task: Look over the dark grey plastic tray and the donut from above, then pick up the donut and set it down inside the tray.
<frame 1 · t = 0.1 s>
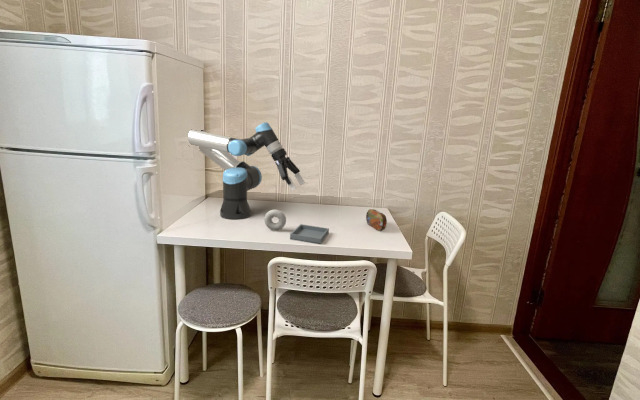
hand: (298, 186, 175), 15 cm above the table, tool tilted 35°, fingers open, 13 cm apart
donut: (274, 230, 156), on the table
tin: (375, 227, 167), on the table
tray: (309, 236, 151), on the table
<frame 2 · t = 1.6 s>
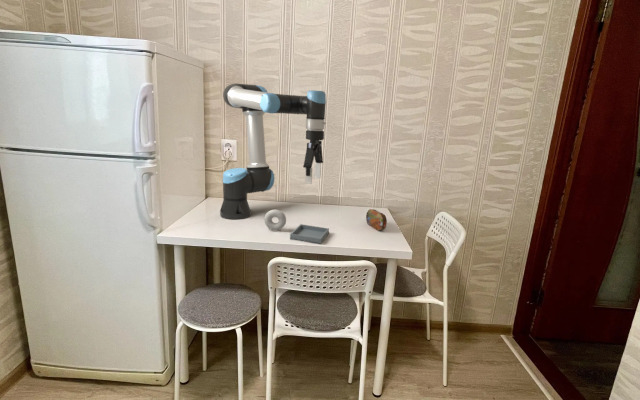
hand: (313, 180, 145), 25 cm above the table, tool pointing down, fingers open, 13 cm apart
nothing on the table moved.
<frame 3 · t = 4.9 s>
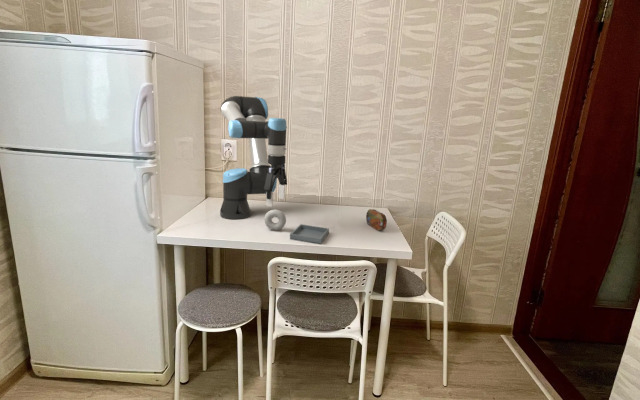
hand: (275, 202, 152), 13 cm above the table, tool pointing down, fingers open, 13 cm apart
nothing on the table moved.
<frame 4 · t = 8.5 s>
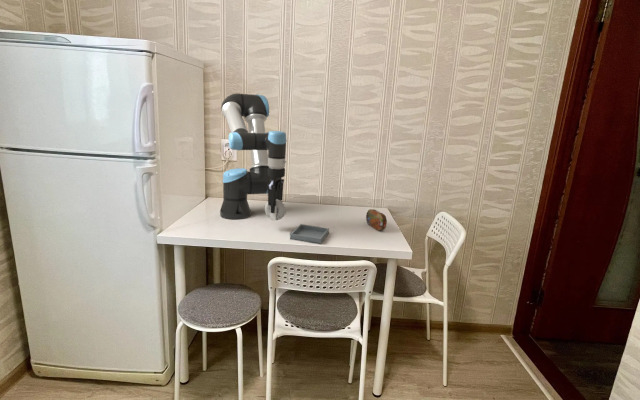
hand: (274, 217, 155), 6 cm above the table, tool pointing down, fingers closed on donut, 3 cm apart
donut: (274, 220, 155), point 5 cm above the table, touching gripper
everything else where it was.
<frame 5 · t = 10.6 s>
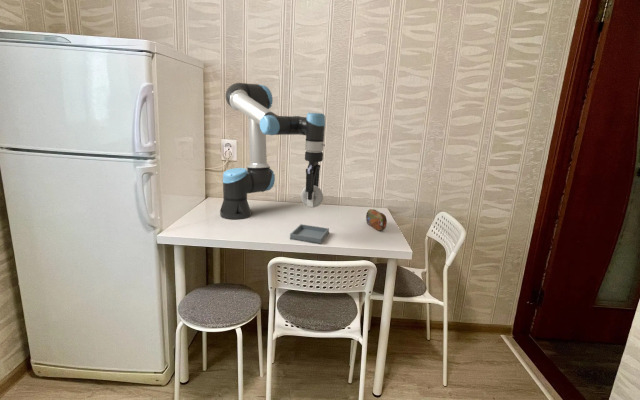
hand: (311, 205, 147), 14 cm above the table, tool pointing down, fingers closed on donut, 3 cm apart
donut: (311, 207, 147), point 13 cm above the table, touching gripper
everything else where it was.
when the fingers open (4 cm above the table, at t = 13.1 s): donut drops 2 cm, resting on tray.
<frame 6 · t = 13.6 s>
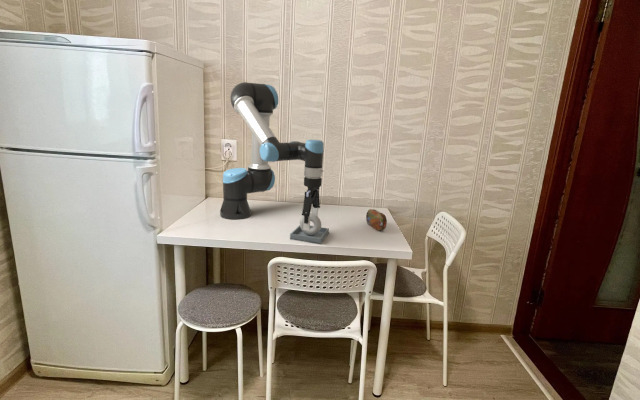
hand: (310, 225, 150), 5 cm above the table, tool pointing down, fingers open, 11 cm apart
donut: (309, 235, 151), resting on tray
everything else where it was.
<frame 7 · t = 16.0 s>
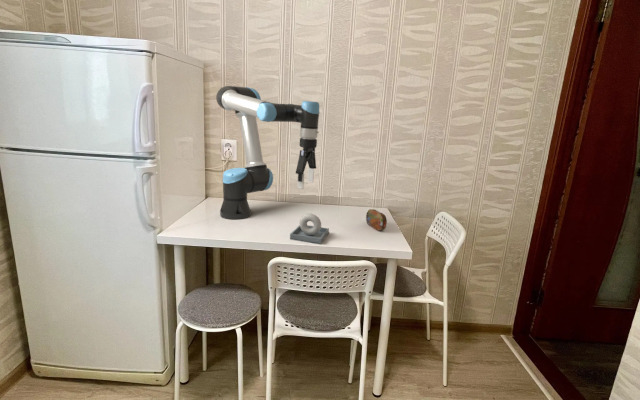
hand: (305, 185, 154), 21 cm above the table, tool pointing down, fingers open, 13 cm apart
nothing on the table moved.
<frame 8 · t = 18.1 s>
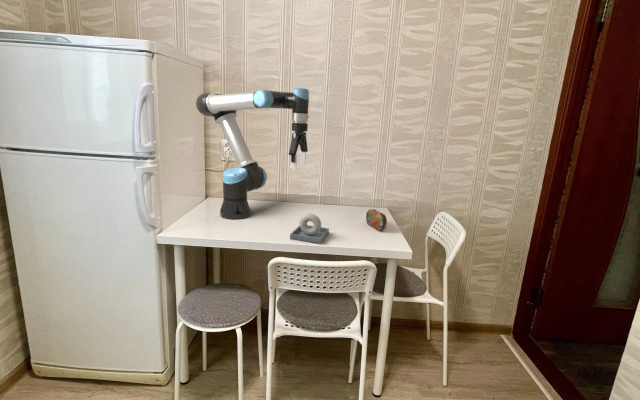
hand: (298, 166, 167), 27 cm above the table, tool pointing down, fingers open, 13 cm apart
nothing on the table moved.
at the end: donut inside the target area on the tray (0.1 cm from its centre), point 0.4 cm above the tray's base; the gripper is holding nothing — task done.
